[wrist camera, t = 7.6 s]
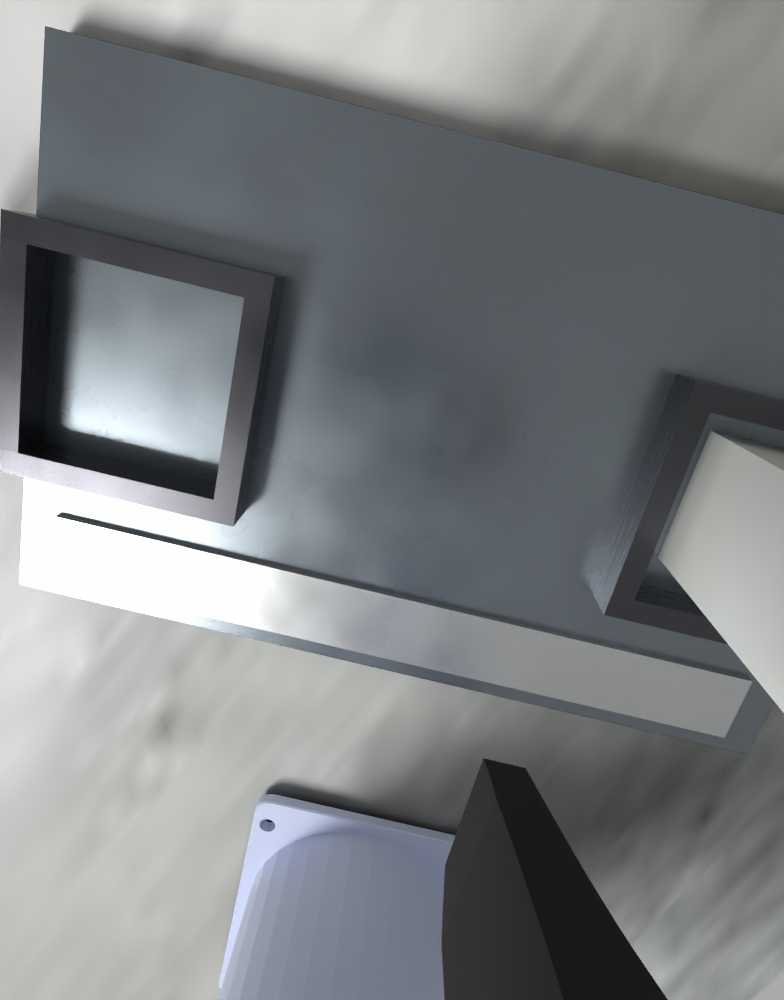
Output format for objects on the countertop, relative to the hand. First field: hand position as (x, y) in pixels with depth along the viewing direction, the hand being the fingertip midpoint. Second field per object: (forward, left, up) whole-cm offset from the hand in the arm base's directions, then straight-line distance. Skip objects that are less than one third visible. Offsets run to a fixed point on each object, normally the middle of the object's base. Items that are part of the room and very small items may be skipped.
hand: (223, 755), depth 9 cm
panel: (+3, -3, -10) cm, 11 cm away
